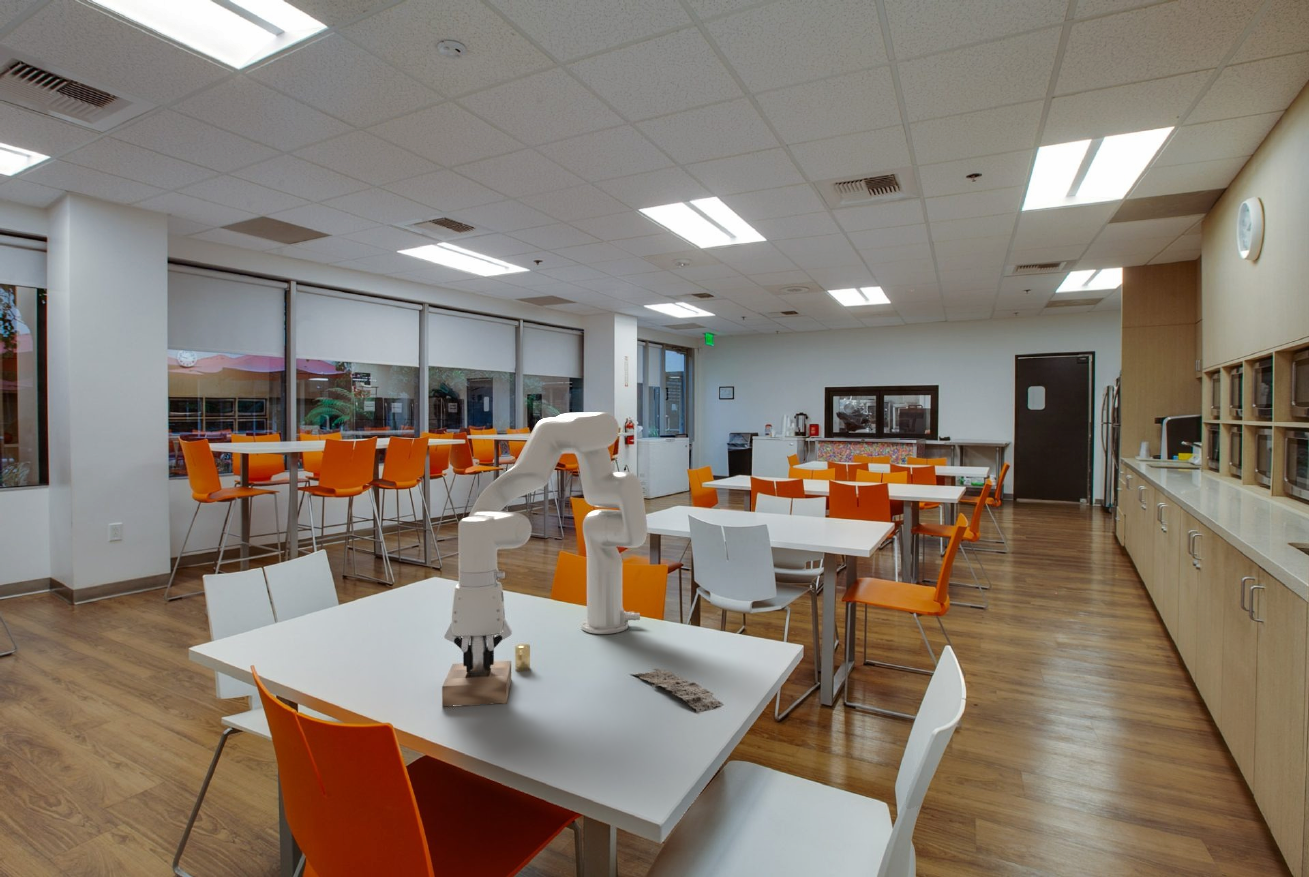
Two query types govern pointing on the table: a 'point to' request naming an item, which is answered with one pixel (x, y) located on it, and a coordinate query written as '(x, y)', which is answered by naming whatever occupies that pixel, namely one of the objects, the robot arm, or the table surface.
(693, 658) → the table surface
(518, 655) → the short pin
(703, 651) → the table surface
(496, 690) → the socket block
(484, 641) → the long pin
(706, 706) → the stone fragment
